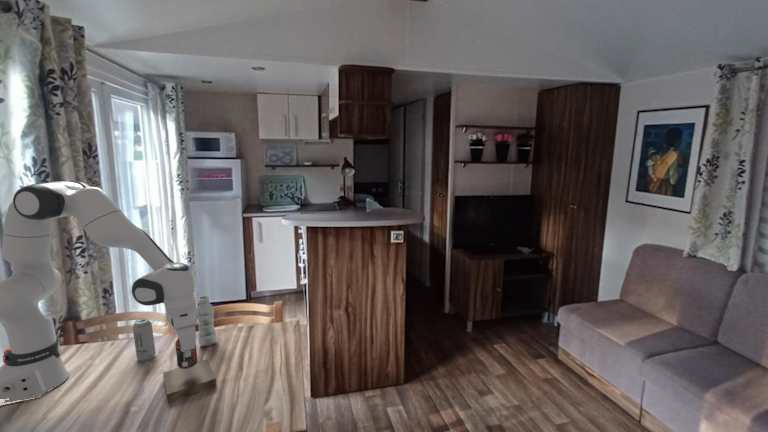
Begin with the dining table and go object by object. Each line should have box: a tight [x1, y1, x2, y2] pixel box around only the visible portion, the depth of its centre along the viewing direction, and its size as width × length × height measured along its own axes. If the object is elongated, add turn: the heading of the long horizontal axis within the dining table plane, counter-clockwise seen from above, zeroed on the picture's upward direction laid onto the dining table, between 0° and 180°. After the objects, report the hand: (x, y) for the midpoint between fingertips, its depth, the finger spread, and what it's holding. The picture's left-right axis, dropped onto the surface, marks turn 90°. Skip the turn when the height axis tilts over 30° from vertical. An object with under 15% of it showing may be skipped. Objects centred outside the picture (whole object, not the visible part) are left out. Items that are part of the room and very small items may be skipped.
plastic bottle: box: [196, 295, 218, 347], centre depth 149 cm, size 6×7×20 cm
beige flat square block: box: [162, 359, 217, 404], centre depth 125 cm, size 14×14×3 cm
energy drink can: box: [132, 317, 156, 363], centre depth 140 cm, size 6×6×15 cm
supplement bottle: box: [174, 337, 198, 369], centre depth 123 cm, size 6×6×11 cm
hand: (186, 351), depth 124 cm, fingers closed on supplement bottle, 6 cm apart
